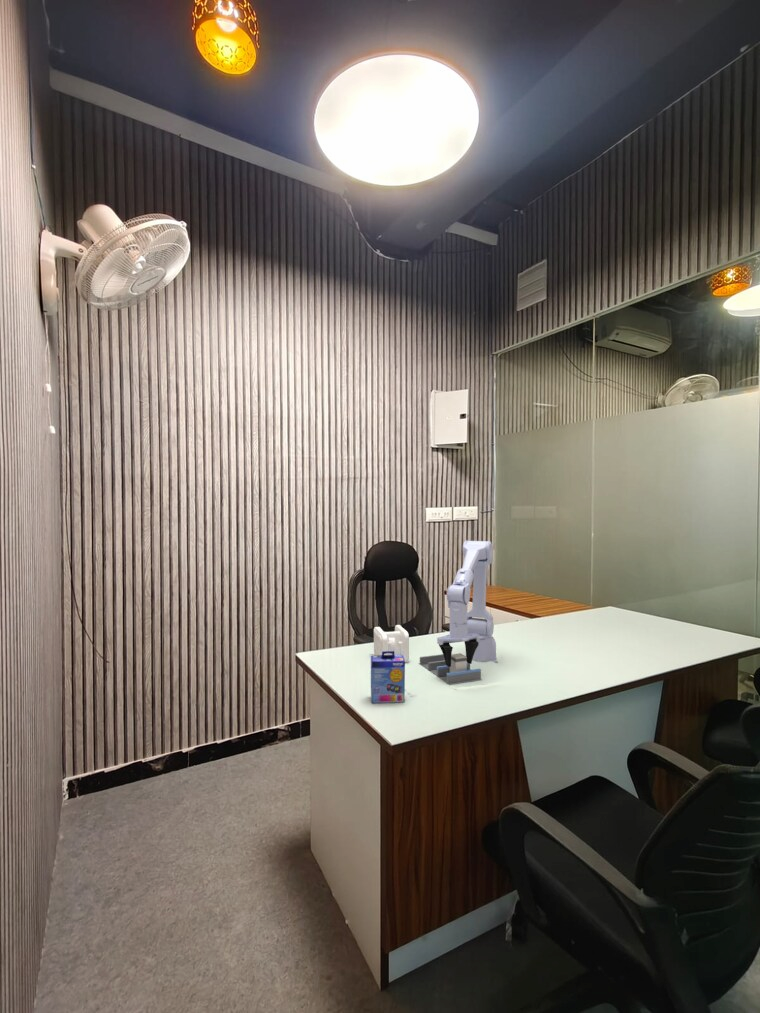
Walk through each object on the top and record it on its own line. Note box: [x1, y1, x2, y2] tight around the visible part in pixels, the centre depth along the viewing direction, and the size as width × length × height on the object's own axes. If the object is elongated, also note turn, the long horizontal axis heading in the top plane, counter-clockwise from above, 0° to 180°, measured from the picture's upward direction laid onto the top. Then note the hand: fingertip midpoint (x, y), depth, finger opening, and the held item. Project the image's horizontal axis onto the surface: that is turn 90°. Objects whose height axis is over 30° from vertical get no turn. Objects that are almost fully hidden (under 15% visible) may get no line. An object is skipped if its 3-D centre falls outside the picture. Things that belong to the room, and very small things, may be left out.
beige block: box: [450, 652, 467, 673], centre depth 147 cm, size 4×4×7 cm
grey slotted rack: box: [418, 653, 483, 686], centre depth 153 cm, size 12×22×4 cm, turn 21°
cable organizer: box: [373, 624, 410, 663], centre depth 167 cm, size 15×11×12 cm
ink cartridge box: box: [370, 651, 406, 704], centre depth 132 cm, size 10×6×14 cm, turn 95°
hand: (458, 664), depth 147 cm, fingers open, 7 cm apart
